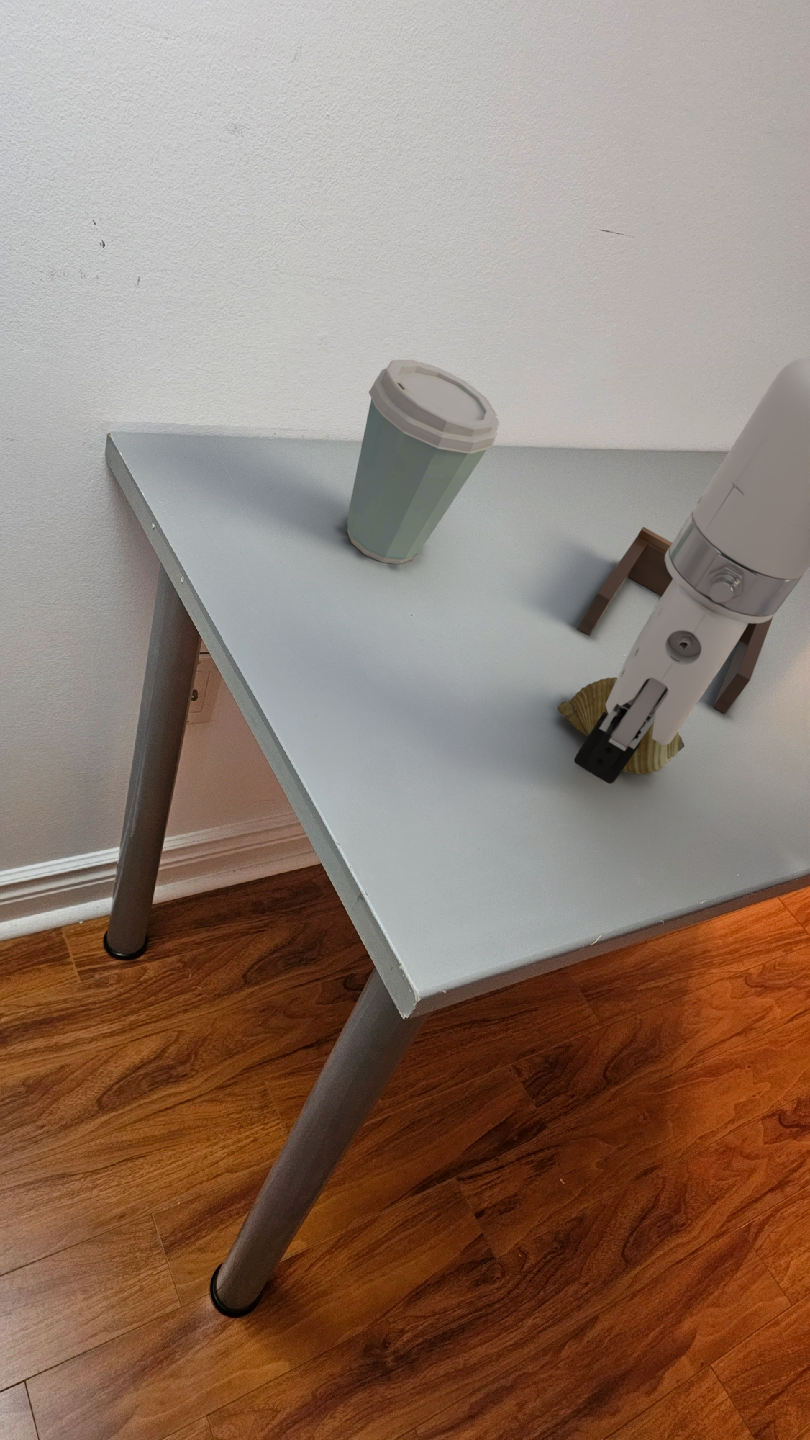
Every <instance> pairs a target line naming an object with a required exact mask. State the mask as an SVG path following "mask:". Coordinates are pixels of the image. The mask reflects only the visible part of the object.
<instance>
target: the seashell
mask: <svg viewBox="0 0 810 1440" xmlns="http://www.w3.org/2000/svg"><path fill="white" fill-rule="evenodd" d="M617 678H618V677H616V676H615V677H606V678H601V679H598V680H596V681H593V682H592V683H589V684H586V685H585V686H584V687H581V688H580V690H578V691H577V692H576V693H575V695H574V696H572V697H571V698H570V699H569V700H567V701H563V702H561V703H560V704H558V706H557V708H556V710H557V711H558V713H559V714H560V715H561V716H562V717H564V718H565V720H567V722H568V723H569V724H570V725H571V726H572V727H573V728H574V729H575V730H577V731H578V732H579V733H580V734H582V735H584V736H586V737H588V735H589V734H590V732H591V731H592V729H593V727H594V726H595V724H596V723H597V721H598V720H599V718H600V717H601V715H602V714H603V712H606V713H607V714H608V712H607V709H606V705H605V704H606V702H607V700H608V698H609V695H610V693H611V691H612V689H613V687H614V684H615V682H616V680H617ZM653 725H654V723H653ZM653 725H652V726H651V727H650V728H649V730H648V731H647V732H646V734H645V735H644V736H643V739H642V740H641V742H640V745H639V747H638V748H637V750H636V751H635V753H634V754H633V756H632V757H631V758H630V760H629V761H628V763H627V764H626V766H625V767H624V768H623V770H622V771H621V772H625V773H626V774H631V775H637V776H640V775H648V774H653V773H654V772H655V773H656V772H658V771H660V770H661V769H663V768H664V767H666V765H667V764H668V763H669V762H671V759H672V758H674V757H675V756H676V755H677V754H678V753H679V752H680V751H681V750H683V748H685V743H684V741H683V738H682V736H681V735H680V734H679V731H680V730H678V732H677V734H676V735H675V737H674V738H673V740H672V741H671V743H669V744H667V745H660V744H659V742H657V741H655V740H653V739H652V732H653Z"/></svg>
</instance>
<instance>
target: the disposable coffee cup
mask: <svg viewBox="0 0 810 1440" xmlns="http://www.w3.org/2000/svg"><path fill="white" fill-rule="evenodd" d="M368 394H369V396H370V403H369V407H368V412H367V418H366V423H365V427H364V432H363V438H362V442H361V448H360V453H359V457H358V462H357V468H356V473H355V477H354V483H353V487H352V491H351V496H350V501H349V508H348V513H347V517H346V522H345V524H346V527H347V529H346V532H347V535H348V538H349V541H350V543H351V544H352V545H353V546H354V547H356V549H358V550H359V551H360V552H361V553H362V554H364V555H366V556H367V557H369V558H372V559H374V560H376V561H378V562H381V563H386V564H395V565H402V564H403V563H407V562H409V561H412V560H413V558H414V557H416V556H418V555H419V554H420V552H421V550H422V549H423V548H424V546H425V545H426V543H427V541H428V540H429V539H430V537H431V535H432V534H433V532H434V531H435V529H436V528H437V526H438V525H439V523H440V522H441V520H442V519H443V517H444V515H445V514H446V513H447V511H448V509H449V508H450V507H451V505H452V503H453V502H454V500H455V499H456V497H457V496H458V494H459V493H460V491H461V490H462V489H463V487H464V486H465V484H466V482H467V481H468V480H469V478H470V476H471V474H472V473H473V471H474V470H475V468H476V467H477V465H478V464H479V463H480V461H481V459H482V458H483V456H484V455H485V454H486V452H487V450H489V449H490V450H491V449H492V448H493V446H494V443H495V440H496V438H497V435H498V429H499V427H500V420H499V419H498V414H497V412H496V411H495V409H494V408H493V406H492V404H491V403H490V402H489V400H488V398H487V397H486V396H485V395H484V394H482V393H481V392H480V391H479V390H477V389H476V388H475V387H474V386H472V385H471V383H468V382H467V381H466V380H464V379H463V378H460V377H458V376H456V375H454V374H452V373H450V372H449V371H447V370H445V369H443V368H440V367H438V366H435V365H432V364H428V363H425V362H422V361H417V360H415V359H392V360H391V361H390V363H389V364H388V365H387V367H386V368H384V369H382V370H381V371H380V372H379V374H378V376H377V377H376V379H375V381H374V382H373V385H371V387H370V389H369V390H368Z"/></svg>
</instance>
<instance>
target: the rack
mask: <svg viewBox="0 0 810 1440" xmlns="http://www.w3.org/2000/svg"><path fill="white" fill-rule="evenodd" d="M672 543H673V541H670V540H668V539H666V538H665V537H663V536H661V535H659V534H658V533H655V532H654V531H652V530H650V529H649V528H647V527H645V526H642V528H640V530H639V532H638V534H637V536H636V537H635V538H634V540H633V542H632V543H631V544H630V546H629V548H628V549H627V550H626V552H625V553H624V554H623V556H622V557H621V558H620V560H619V562H618V563H617V564H616V565H615V567H614V568H613V570H612V571H611V573H610V575H609V576H608V578H606V580H605V582H604V583H603V584H602V586H601V587H600V589H599V590H598V592H597V594H596V595H595V597H594V598H593V600H592V602H591V604H590V605H589V607H588V608H587V611H586V613H585V614H584V616H583V618H582V619H581V621H580V624H579V625H578V627H577V629H578V630H579V631H580V632H583V634H586V635H588V636H591V634H592V632H593V631H594V630H595V628H596V627H597V625H598V624H599V622H600V621H601V619H602V617H603V616H604V614H605V613H606V611H607V610H608V608H609V607H610V605H611V604H612V603H613V601H614V599H615V598H616V596H617V595H618V593H619V592H620V591H621V589H622V587H623V586H624V585H625V583H626V581H627V580H628V578H630V579H631V580H633V581H634V582H636V583H638V584H640V585H641V586H643V587H645V588H647V589H648V590H650V591H652V592H654V593H655V594H657V595H659V596H660V597H662V596H663V594H664V592H665V591H666V589H667V588H668V586H669V584H670V583H671V581H672V580H673V578H672V576H671V575H670V573H669V572H668V569H667V567H666V563H665V554H666V552H667V551H668V549H669V547H670V546H671V544H672ZM773 619H774V616H773V617H772V618H771V619H770V620H769V621H766V622H764V623H748V625H747V627H746V629H745V630H744V632H743V634H742V635H741V637H740V639H739V640H738V643H737V646H736V649H735V651H734V654H733V656H732V659H731V661H730V664H729V666H728V668H727V671H726V674H725V675H724V678H723V681H722V683H721V686H720V688H719V691H718V694H717V696H716V698H715V700H714V703H713V705H712V708H713V709H715V710H717V711H719V712H721V713H723V714H727V712H728V711H729V710H730V708H731V707H732V705H733V704H734V703H735V702H736V701H737V700H738V697H739V696H740V694H741V693H742V692H743V691H744V689H745V688H746V687H747V685H748V684H749V683H750V682H751V679H752V676H753V673H754V671H755V668H756V665H757V662H758V660H759V657H760V654H761V652H762V649H763V646H764V643H765V641H766V638H767V635H768V633H769V630H770V626H771V624H772V622H773Z"/></svg>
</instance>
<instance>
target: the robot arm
mask: <svg viewBox="0 0 810 1440" xmlns="http://www.w3.org/2000/svg"><path fill="white" fill-rule="evenodd" d="M665 563H666V567H667V569H668V572H669V573H670V575H671V576H672V578H673V580H672V581H671V583H670V584H669V586H668V588H667V589H666V591H665V592H664V594H663V596H660V599H659V601H658V602H657V603H656V605H655V607H654V608H653V610H652V612H651V614H650V615H649V616H648V619H646V622H645V624H644V625H643V627H642V629H641V631H640V633H639V634H638V636H637V638H636V640H635V642H634V643H633V645H632V647H631V649H630V650H629V653H628V655H627V657H626V659H625V661H624V663H623V666H622V668H621V670H620V671H619V673H618V676H617V677H616V678H617V680H616V682H615V684H614V687H613V689H612V691H611V693H610V695H609V698H608V700H607V702H606V704H605V705H606V709H607V712H608V714H607V713H606V712H603V714H602V715H601V717H600V718H599V720H598V721H597V723H596V724H595V726H594V727H593V729H592V731H591V732H590V734H589V735H588V736H586V738H585V740H584V741H583V743H582V744H581V746H580V747H579V749H578V752H577V753H576V755H575V756H574V758H573V762H574V763H575V764H576V765H577V766H579V767H580V768H582V769H583V770H585V771H587V772H588V773H590V774H592V775H593V776H595V777H596V778H598V779H600V780H601V781H603V782H605V783H606V784H614V783H615V781H616V780H617V778H618V777H619V776H620V774H621V773H622V772H623V771H622V770H623V768H624V767H625V766H626V764H627V763H628V761H629V760H630V758H631V757H632V756H633V754H634V753H635V751H636V750H637V748H638V747H639V745H640V742H641V740H642V739H643V736H644V735H645V734H646V732H647V731H648V730H649V728H650V727H651V726H652V725H653V723H654V725H653V732H652V739H653V740H655V741H657V742H659V744H660V745H667V744H669V743H671V741H672V740H673V738H674V737H675V735H676V734H677V732H678V731H680V729H681V728H682V726H683V725H684V723H685V722H686V720H687V718H689V716H690V714H691V713H692V711H693V710H694V708H695V706H696V705H697V704H698V703H699V701H700V699H701V698H702V697H703V695H704V694H705V692H706V691H707V689H708V688H709V686H710V685H711V684H712V682H713V680H714V679H715V678H716V676H717V675H718V673H719V672H720V670H721V669H722V668H723V665H724V664H725V663H726V661H727V660H728V658H729V656H730V655H731V653H732V652H733V650H734V649H735V647H736V645H738V643H739V641H740V640H739V639H740V637H741V635H742V634H743V632H744V630H745V629H746V627H747V625H748V623H764V622H766V621H769V620H770V619H771V618H772V617H773V618H774V616H775V615H776V614H777V612H778V611H779V609H780V607H782V605H783V604H784V602H785V601H786V600H787V598H788V597H789V595H790V594H791V593H792V591H793V590H794V588H796V586H797V584H799V582H800V581H801V579H802V577H803V576H804V575H805V573H807V571H808V569H809V568H810V356H805V357H799V358H797V359H794V360H793V361H791V362H789V363H788V364H787V365H785V366H784V367H783V368H782V369H781V370H780V371H779V372H778V374H776V377H775V378H774V379H773V381H772V382H771V384H770V385H769V386H768V388H767V389H766V391H765V393H764V395H763V396H762V397H761V399H760V401H759V402H758V404H757V406H756V407H755V409H754V411H753V412H752V414H751V416H750V417H749V419H748V420H747V422H746V423H745V426H744V427H743V429H742V430H741V432H740V434H739V435H738V437H737V438H736V440H735V442H734V443H733V445H732V446H731V448H730V450H729V451H728V453H727V455H726V456H725V458H724V459H723V461H722V463H721V464H720V466H719V467H718V469H717V471H716V472H715V474H714V475H713V477H712V478H711V480H710V481H709V483H708V484H707V486H706V488H705V489H704V491H703V493H702V495H701V496H700V497H699V499H698V500H697V503H696V504H695V506H694V508H693V510H692V511H691V512H690V514H689V515H688V517H687V518H686V520H685V522H684V524H683V525H682V526H681V529H680V530H679V531H678V533H677V535H676V536H675V538H674V539H673V541H672V544H671V546H670V547H669V549H668V551H667V552H666V554H665Z"/></svg>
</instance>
